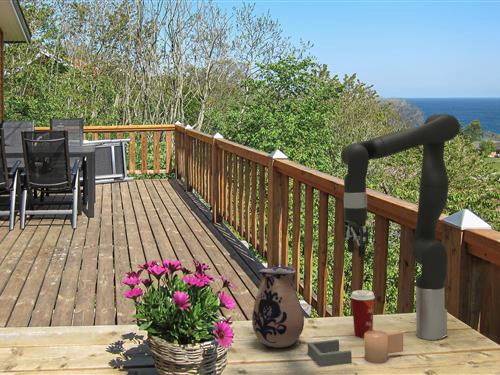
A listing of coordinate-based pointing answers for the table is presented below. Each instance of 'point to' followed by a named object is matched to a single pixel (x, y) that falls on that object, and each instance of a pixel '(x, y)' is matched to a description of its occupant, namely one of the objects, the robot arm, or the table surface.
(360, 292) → the coffee cup
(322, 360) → the charcoal holder
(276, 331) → the ceramic pitcher
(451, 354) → the table surface
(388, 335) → the peach mallet
